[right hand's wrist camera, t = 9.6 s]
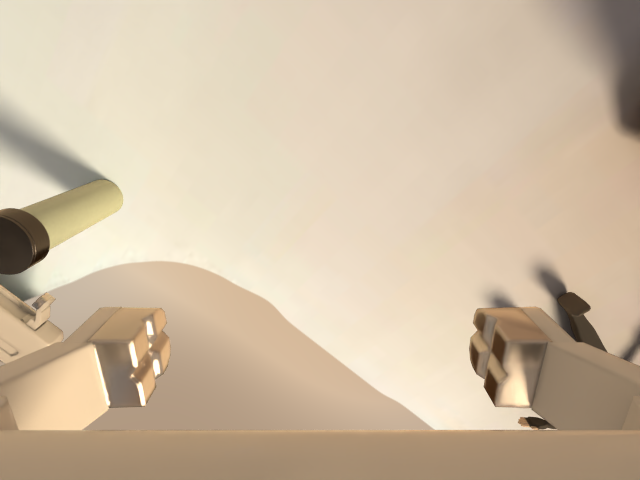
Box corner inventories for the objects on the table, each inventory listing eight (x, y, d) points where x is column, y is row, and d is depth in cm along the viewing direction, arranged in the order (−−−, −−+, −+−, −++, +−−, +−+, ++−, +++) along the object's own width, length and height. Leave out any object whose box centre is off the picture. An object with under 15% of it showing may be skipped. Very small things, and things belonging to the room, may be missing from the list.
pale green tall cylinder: (121, 217, 53) (30, 272, 37) (86, 208, 53) (-22, 260, 36) (124, 184, 52) (30, 226, 35) (88, 175, 51) (-25, 213, 34)
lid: (49, 270, 39) (33, 281, 36) (-11, 256, 38) (-32, 266, 36) (51, 216, 37) (33, 224, 34) (-13, 201, 36) (-36, 208, 34)
